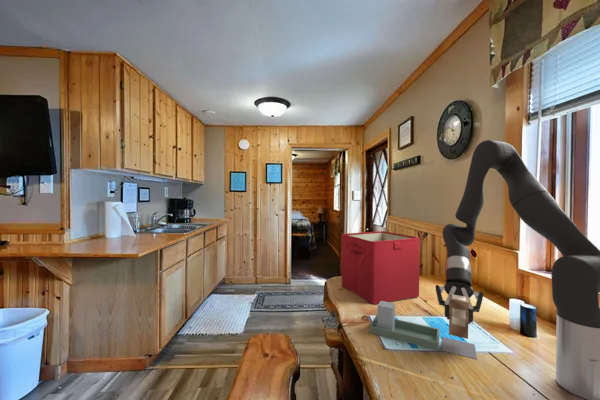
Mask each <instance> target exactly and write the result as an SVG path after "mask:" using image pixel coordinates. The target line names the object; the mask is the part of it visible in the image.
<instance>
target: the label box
mask: <svg viewBox="0 0 600 400" xmlns="http://www.w3.org/2000/svg"><path fill="white" fill-rule="evenodd" d="M468 315H469V301H468V297H465V296H460V295H453V294H452V295H450V304H449V320H448V335H449V336H454V337H459V338H461V339H469V324H468Z"/></svg>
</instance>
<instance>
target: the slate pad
mask: <svg viewBox="0 0 600 400" xmlns="http://www.w3.org/2000/svg"><path fill="white" fill-rule="evenodd" d="M441 348H442V349H441V351H443V352H447V353H450V354H453V355H457V356H462V357H465V358H470V359H472V360H476V361H477V360H478V356H477V351H476V344H474V343H470V342H466V341H462V340H458V339H453V338H448V337H445V336H442V343H441Z"/></svg>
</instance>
